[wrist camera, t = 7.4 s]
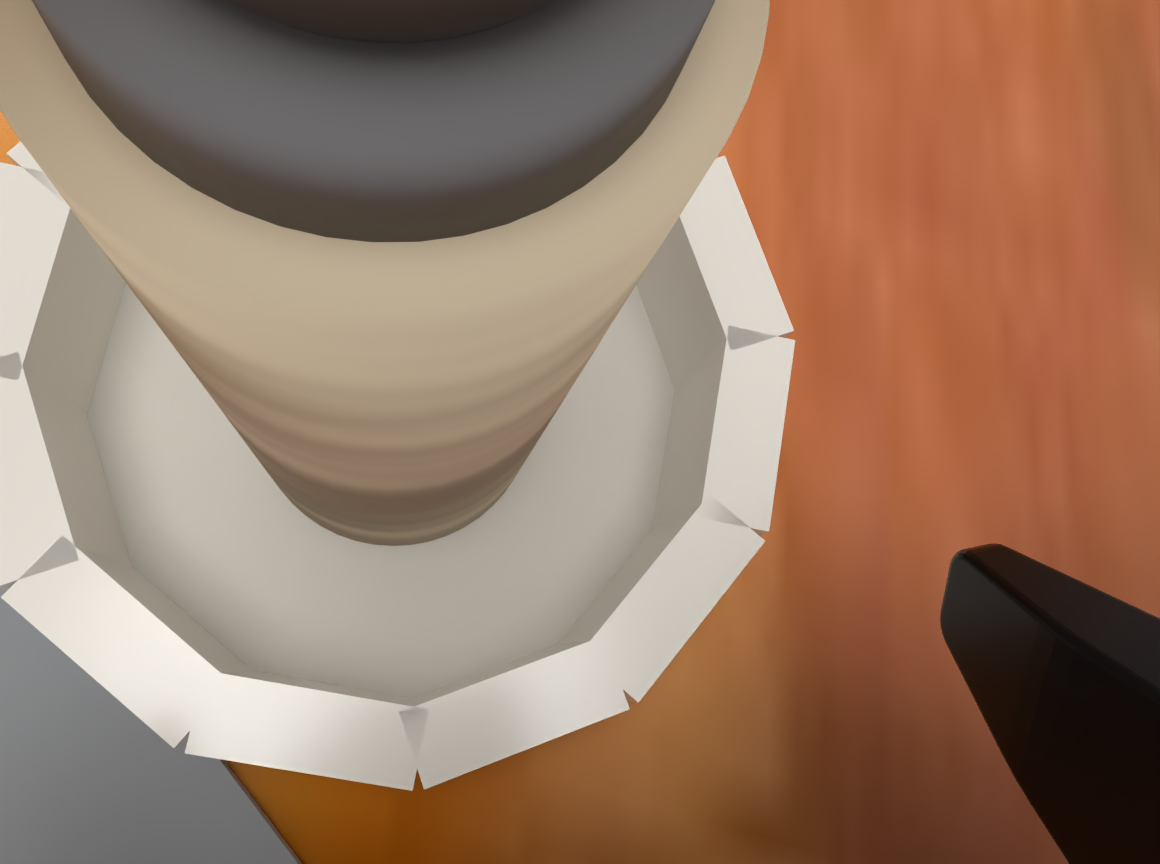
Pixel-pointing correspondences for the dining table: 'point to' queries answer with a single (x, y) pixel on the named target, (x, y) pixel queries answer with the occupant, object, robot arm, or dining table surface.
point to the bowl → (378, 572)
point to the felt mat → (107, 775)
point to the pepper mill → (381, 210)
